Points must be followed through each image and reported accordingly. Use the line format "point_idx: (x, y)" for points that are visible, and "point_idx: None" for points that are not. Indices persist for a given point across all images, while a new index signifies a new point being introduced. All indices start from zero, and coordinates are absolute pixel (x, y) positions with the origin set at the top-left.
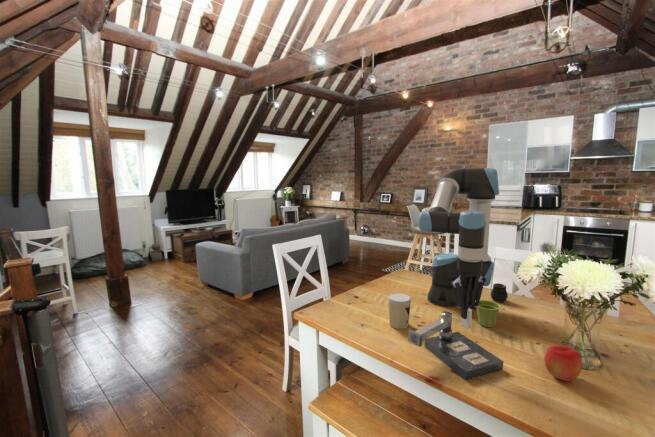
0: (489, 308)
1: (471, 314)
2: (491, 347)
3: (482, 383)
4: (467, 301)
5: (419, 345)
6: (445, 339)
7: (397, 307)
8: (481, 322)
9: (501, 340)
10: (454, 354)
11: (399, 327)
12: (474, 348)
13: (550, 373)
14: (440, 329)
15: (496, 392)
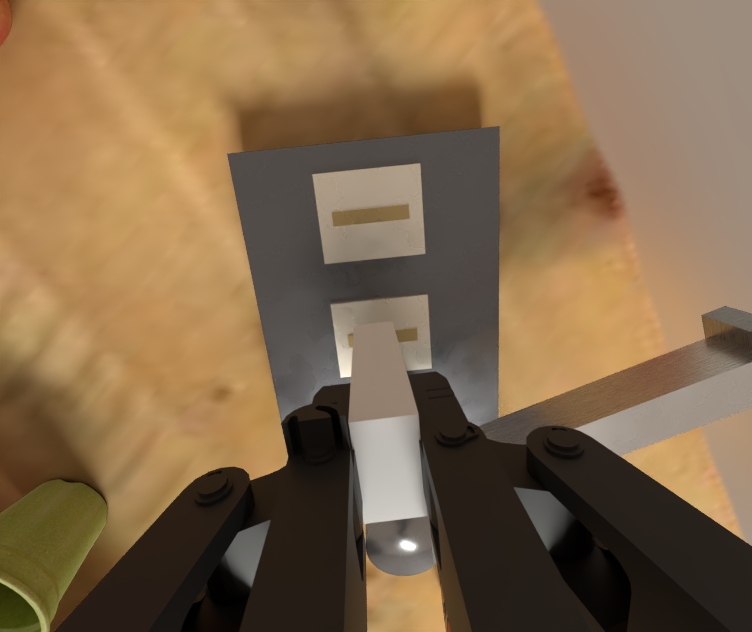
0: None
1: (356, 385)
2: (175, 336)
3: (419, 94)
4: (501, 554)
5: (733, 308)
6: None
7: None
8: (94, 514)
9: (83, 375)
10: (449, 283)
11: None
12: (305, 305)
13: (10, 8)
14: (487, 429)
15: (402, 9)
